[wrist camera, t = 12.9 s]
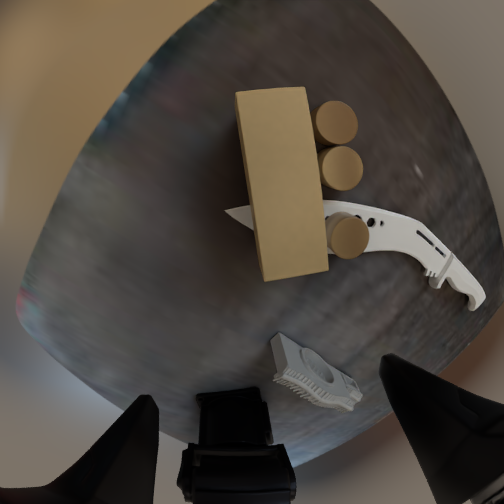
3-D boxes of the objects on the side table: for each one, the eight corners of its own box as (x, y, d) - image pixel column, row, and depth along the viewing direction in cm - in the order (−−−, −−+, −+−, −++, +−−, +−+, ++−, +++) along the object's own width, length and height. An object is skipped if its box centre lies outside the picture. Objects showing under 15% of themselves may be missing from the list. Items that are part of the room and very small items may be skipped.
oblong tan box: (256, 256, 19) (264, 282, 14) (234, 114, 17) (235, 91, 12) (305, 248, 19) (329, 270, 14) (286, 109, 17) (304, 86, 12)
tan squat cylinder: (323, 254, 20) (333, 264, 18) (318, 215, 19) (328, 222, 17) (359, 245, 20) (371, 254, 18) (355, 208, 19) (368, 213, 17)
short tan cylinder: (315, 189, 19) (324, 193, 17) (310, 148, 18) (319, 147, 16) (352, 185, 19) (365, 188, 17) (348, 146, 18) (360, 145, 16)
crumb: (310, 147, 18) (319, 145, 16) (303, 106, 17) (312, 101, 15) (348, 144, 18) (361, 143, 16) (342, 105, 17) (354, 100, 15)
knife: (221, 216, 18) (280, 115, 16) (223, 211, 19) (277, 119, 17) (453, 347, 24) (489, 294, 22) (446, 339, 25) (481, 288, 23)
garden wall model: (355, 377, 25) (375, 416, 20) (342, 387, 26) (361, 426, 20) (278, 327, 22) (292, 375, 17) (263, 340, 23) (273, 390, 17)
